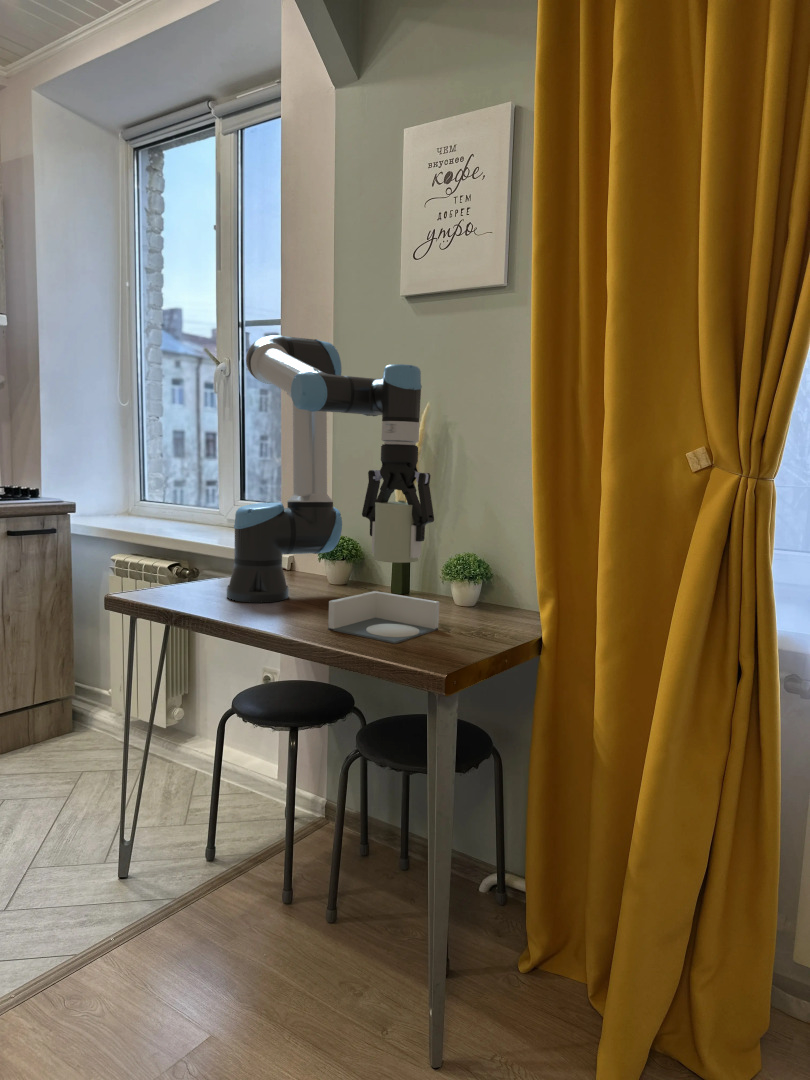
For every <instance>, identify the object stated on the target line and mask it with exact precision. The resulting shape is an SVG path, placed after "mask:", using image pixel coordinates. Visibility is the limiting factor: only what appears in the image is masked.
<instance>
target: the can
mask: <svg viewBox="0 0 810 1080" xmlns="http://www.w3.org/2000/svg"><path fill="white" fill-rule="evenodd" d="M414 523H415V522H414V519H413V517H412V505H408V503H407V501H406V500H400V499H399V500H397V501H388V502H385V503H379V502H376V503H375V542H374V553H373V556H372V559H373V560H375V561H376V562H381V563H382V562H383V563H395V564H398V563H400V564H401V563H404V564H406V563H415V562H418V561H419V557H418V558H410V548H411V525H413V524H414Z"/></svg>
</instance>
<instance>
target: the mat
mask: <svg viewBox="0 0 810 1080" xmlns="http://www.w3.org/2000/svg"><path fill="white" fill-rule="evenodd" d="M327 630H329V631H333V632H338V633H343V634H348V635H353V636H358V637H362V638H367V639H371V640H377V641H381V642H385V643H391V644H398V643H402V642H405V641H408V640H412V639H414V638H417V637H420V636H423V635H425V634H428V633H431V632H435V631H438V630H439V627H438V628H436V630H435V629H433V628H427V627H422V626H417V625H412V624H406V623H401V622H396V621H391V620H385V619H380V618H372V619H368V620H365V621H361V622H357V623H353V624H350V625H346V626H342V627H339V628H335V629H332V630H331V629H328V628H327ZM434 630H435V631H434Z"/></svg>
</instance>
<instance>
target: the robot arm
mask: <svg viewBox="0 0 810 1080" xmlns="http://www.w3.org/2000/svg"><path fill="white" fill-rule="evenodd" d="M246 352H247V353H246V357H245V361H246V366H247V370H248V372H249V374H251V376H252V377H254V378H255V379H256V380H258V381H259V382H261V383H264V384H266V385H274V386H275V387H277V388H279V389H281V390H282V391H284V392H286V394H287V395H288V396H289V398H290V399H291V400H292V465H293V466H292V467H293V468H292V471H293V472H292V476H293V477H292V479H293V480H292V481H293V484H292V487H293V488H292V489H293V492H292V493H293V494H292V496H291V497H289V499H288V500H287V502H286V503H287V507H286V508H285V506H284V504H283V503H282V502H278V501H277V502H275V501H272V502H260V503H259V502H258V503H252V504H247V505H243V506H240V507H238V509H236V511H235V514H234V515H235V517H234V524H233V528H234V556H233V557H234V564H233V569H232V573H231V576H230V580H229V584H228V585H227V587H226V598H227V597H228V598H229V600H231V599H232V601H234V600H235V602H242V603H275V602H280V601H281V602H282V601H284V600H286V599H288V598H289V593H290V592H289V586H288V585H287V582H286V577H285V573H284V570H283V556H284V555H295V554H296V555H301V554H304V555H307V554H314V555H315V554H316V555H317V554H321V553H329V552H331V551H333V550H334V549H335V548H336V547H337V546H338V544H339V542H340V539H341V536H342V530H343V519H342V514H341V512H340V510H339V509H338V508H336V507H335V506H334V500H333V499H332V498H331V497H330V496H329V495H328V435H327V434H328V423H327V421H328V418H327V417H328V416H327V415H328V414H327V413H329V412H330V413H341V414H355V415H363V416H366V417H378V416H381V441H382V442H384V443H383V444H381V446H380V461H381V467H380V469H377V470H375V469H374V470H373V469H369V470H368V472H367V475H368V477H367V479H368V482H367V483H368V484H367V488H366V492H365V498H364V502H363V507H362V511H361V515H362V517H363V518H366V519H368V520H369V536H370V537H371V553H372V554H374V542H375V503H376V502H379V503H385V502H389V500H390V497H391V495H392V494H393V493H394V492H395V491H396V490H397V491H401V492H402V495H404V496H405V499H406V500H405V501H406V502H407V503H408V505H412V517H413V519H414V522H415V523H414V524H413V525H411V548H410V558H418V559H419V558H421V556H422V555H421V553H422V542H424V541H425V537H426V535H425V533H426V525H428V524H431V523H434V521H435V514H434V509H433V501H432V495H431V494H432V493H431V487H430V481H431V474H430V473H429V472H421V471H419V470H418V467H417V464H418V463H419V462H418V461H419V447H418V445H416V444H417V443H419V441H420V418H421V417H420V415H421V413H420V411H421V396H422V395H421V394H422V383H421V382H422V371H421V369H420V368H419V367H418V366H416V365H412V364H404V363H403V364H401V363H400V364H399V363H397V364H396V363H395V364H388V365H386V366H384V369H383V375H382V378H372V377H371V378H370V377H362V376H360V377H359V376H351V375H342V361H341V356H340V354H339V352H338V349H337V348H336V347H335V346H334V345H333V344H332V343H331V342H329V341H322V340H320V339H314V338H304V337H303V338H302V337H293V336H283V335H280V334H279V335H277V334H274V335H273V334H272V335H267V336H266V335H265V336H263V337H261V338H259V339H257V340H256V341H254V342H253V343H252V344H251V346H250V347H249V348H248V351H246ZM381 480H383V481H382V484H381ZM415 481H416V482H417V488H416V485H415ZM379 490H380V491H379ZM417 491H418V493H417ZM418 496H419V497H418ZM228 598H227V599H228Z"/></svg>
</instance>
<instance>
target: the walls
mask: <svg viewBox="0 0 810 1080" xmlns="http://www.w3.org/2000/svg"><path fill="white" fill-rule="evenodd" d="M372 618H380V619H385V620H391V621H396V622H401V623H406V624H412V625H417V626H422V627H427V628H433V629H435V630H434V631H433V632H435V631H437V630H436V628H438V629H439V623H440V622H439V618H440V601H438V600H436V601H435V600H431V599H425V598H420V597H419V598H418V597H412V596H407V595H406V596H405V595H400V594H397V593H396V594H395V593H389V592H382V591H377V590H373V591H369V592H364V593H359V594H355V595H351V596H350V595H349V596H346V597H340V598H337V599H332V600H329V601H328V624H327V625H328V626H327V630H328V629H331V630H330V631H333V630H332V629H335V628H339V627H342V626H346V625H350V624H353V623H357V622H361V621H365V620H368V619H372Z"/></svg>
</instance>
